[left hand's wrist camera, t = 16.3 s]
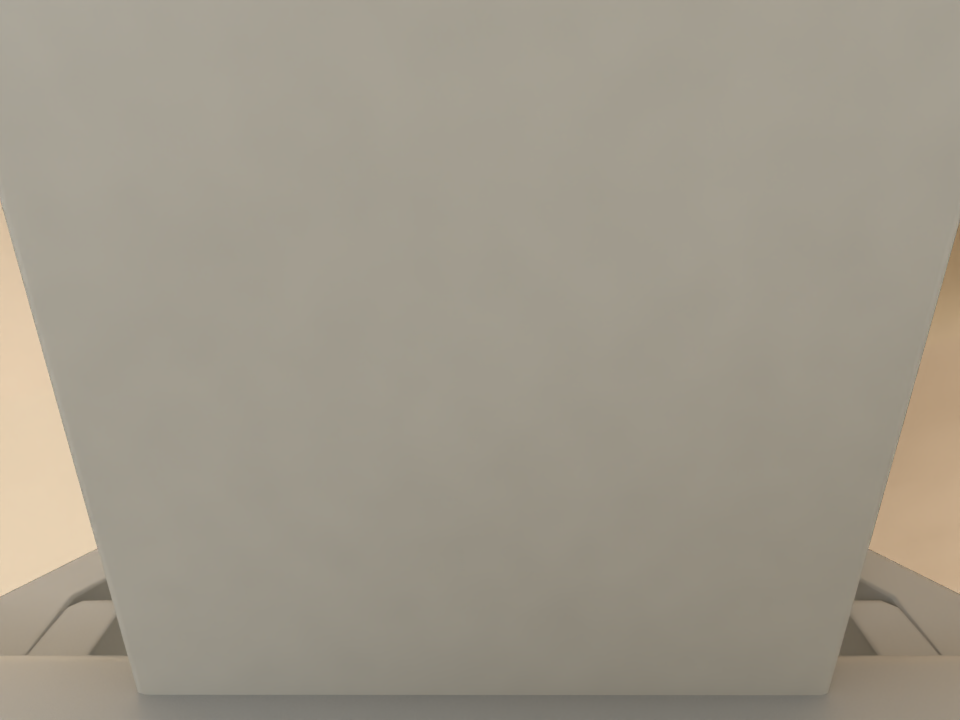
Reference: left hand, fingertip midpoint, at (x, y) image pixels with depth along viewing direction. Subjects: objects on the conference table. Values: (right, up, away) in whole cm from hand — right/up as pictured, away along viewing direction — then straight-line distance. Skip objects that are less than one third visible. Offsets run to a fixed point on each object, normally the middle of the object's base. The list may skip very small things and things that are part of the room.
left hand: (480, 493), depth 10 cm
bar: (0, +9, 0) cm, 9 cm away
